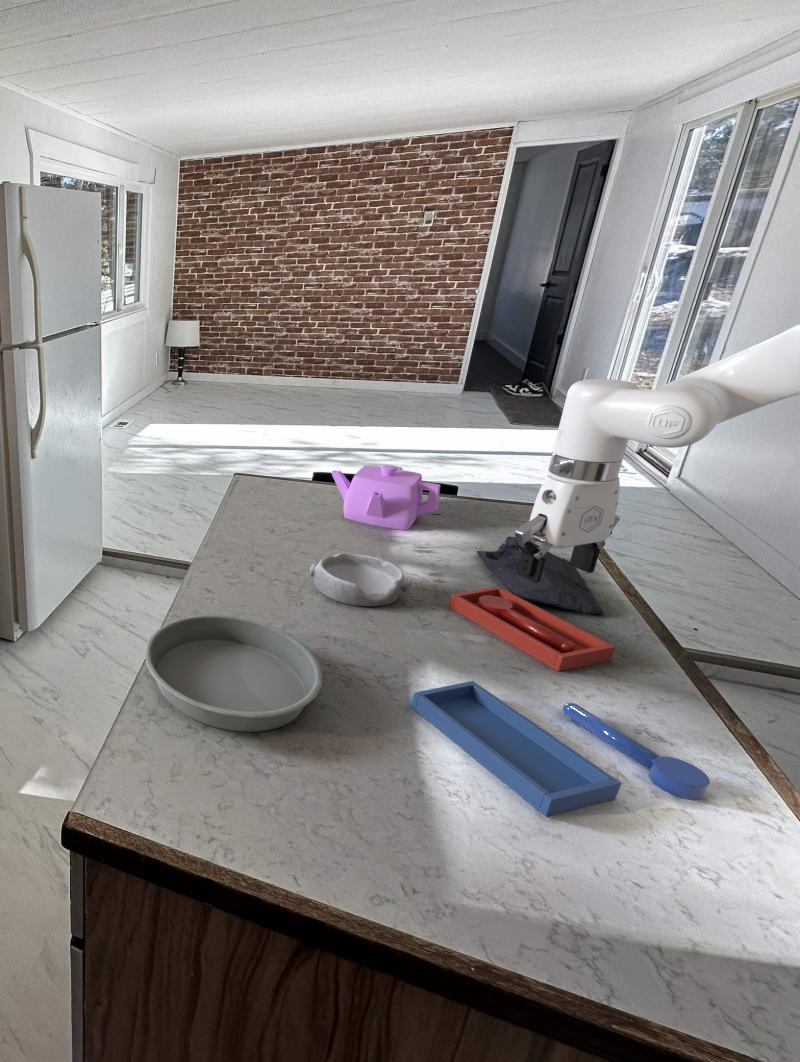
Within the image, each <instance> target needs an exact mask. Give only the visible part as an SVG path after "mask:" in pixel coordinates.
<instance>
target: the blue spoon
mask: <svg viewBox="0 0 800 1062" xmlns="http://www.w3.org/2000/svg"><path fill="white" fill-rule="evenodd" d="M561 709H562V712H563V714H564V715H565V716H566V717H568V718H569V719H571V721H574V722H575V723H577V724H578V725H580V726H582V727H583V728H585V729H586V730H588V731H589V732H591V733H592V734H594V735H595V736H597V737H598V738H600V739H601V740H603V741H605V742H606V743H608V744H609V745H610V746H613V747H614V748H615V749H617V750H619V751H620V752H622V753H623V754H625V755H627V756H628V757H630V758H631V759H633V760H634V761H635V762H637V763H639V764H640V765H642V766H643V767H645V768H647V770H648V772H647V776H648V779H649V780H650V781H651V782H652V783H653V784H654V785H655V786H657V788H659V789H661V790H662V791H664V792H666V793H668V794H670V795H672V796H675V797H677V798H681V799H686V800H691V801H692V800H693V801H695V800H700V799H702V798H704V796H705V794H706V791H707V790H708V788H709V786H710V784H711V780H710V777H709V776H708V775H707V774H706V773H705V771H703V770H702V769H700V768H699V767H698V766H695V765H694V764H692V763H690V762H688V761H685V760H682V759H679V758H676V757H673V756H664V755H663V756H661V755H660V754H658V753H656V752H655V751H653V750H651V749H650V748H648V747H647V746H644V745H643V744H642V743H640V742H638V741H637V740H636V739H633V738H632V737H630V736H629V735H627V734H626V733H624V732H623V731H621V730H619V729H618V728H616V727H615V726H614V725H613V726H612V725H611V724H609V723H608V722H606V721H605V720H603V719H601V717H598V716H597V715H595V714H593V713H592V712H590V711H588V710H587V709H586V708H584V707H582V706H581V705H579V704H577V703H574V702H566V703H565V704H563V705H562V708H561Z"/></svg>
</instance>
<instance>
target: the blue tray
mask: <svg viewBox="0 0 800 1062" xmlns="http://www.w3.org/2000/svg"><path fill="white" fill-rule="evenodd" d="M410 708H411V709H412V710H414V711H415V712H416V713H417V714H419V715H420V716H421V717H422V718H423V719H424V720H426V721H427V722H428V723H430V725H432V726H433V727H435V729H437V730H438V731H440V732H441V734H443V735H444V736H446V737H447V738H448V739H449V740H451V741H452V742H453V743H454V744H455V745H457V746H458V747H459V748H460V749H461V750H462V751H464V752H465V753H467V754H468V756H470V757H471V758H473V759H474V760H475V761H477V763H479V765H481V766H483V768H485V769H486V770H487V771H489V773H491V774H492V775H494V776H495V777H496V778H497V779H499V781H501V782H502V783H504V784H505V785H506V786H507V787H508V788H510V789H511V790H512V791H514V793H516V794H517V795H518V796H519V797H521V798H522V799H524V801H525V802H527V803H528V804H530V805H531V806H532V807H533V808H534V809H535V810H537V811H538V812H539V813H540V814H541V815H543V816H544V817H550V816H555V815H558V814H562V813H566V812H571V811H574V810H575V811H576V810H578V809H582V808H586V807H590V806H594V805H599V804H602V803H607V802H610V801H614V800H616V798H617V796H618V793H619V791H620V788H621V786H622V782H621V781H620V780H618V779H617V778H615V777H614V776H612V775H611V774H610V773H608V772H606V771H605V770H604V769H602V768H601V767H599V766H598V765H596V764H595V763H594V762H592V761H590V760H589V759H588V758H586V757H585V756H583V755H582V754H580V753H579V752H577V751H576V750H574V749H573V748H571V747H570V746H569V745H567V744H566V743H565V742H563V741H561V740H560V739H559V738H557V737H556V736H554V734H551V733H550V732H549V731H547V730H546V729H544V728H543V727H542V726H540V725H538V724H536V723H535V722H534V721H532V720H531V719H529V718H528V717H526V715H524V714H522V713H521V712H519V711H518V710H516V709H515V708H514V707H512V706H511V705H509V704H507V703H506V702H504V700H501V699H500V698H499V697H497V696H496V695H494V693H491V692H490V691H489V690H487V689H485V688H484V687H483V686H481V685H480V684H478V683H477V682H475V681H474V680H470V681H466V682H460V683H454V684H451V685H445V686H440V687H435V688H430V689H425V690H421V691H415V692H413V695H412V699H411V704H410Z"/></svg>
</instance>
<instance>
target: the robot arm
mask: <svg viewBox="0 0 800 1062" xmlns="http://www.w3.org/2000/svg"><path fill="white" fill-rule="evenodd" d="M798 395H800V323H798V324H795V325H794V326H792V327H790V328H788V329H786V330H784V331H782V332H781V333H779V334H777V335H775V336H772V337H770V338H768V339H766V340H764V341H761V342H759V343H757V344H754V345H752V346H749V347H747V348H745V349H743V350H741V351H739V352H735V353H733V354H732V355H729V356H727V357H725V358H721V359H720V360H717V361H715V362H713V363H711V364H707V366H704V367H701V368H699V369H697V370H695V371H692V372H689V373H687V374H685V375H683V376H680V377H679V378H676V379H674V380H672V381H669V382H667V383H666V384H664V385H662V386H661V387H659V388H657V389H656V388H655V389H641V387H640V386H639V385H637V384H636V383H634V382H631V381H627V380H622V379H621V380H620V379H611V378H587V379H582V380H578V381H575V382H574V383H573V384H571V386H570V387H569V388H568V390H567V393H566V397H565V401H564V405H563V409H562V413H561V417H560V421H559V425H558V429H557V433H556V437H555V441H554V445H553V447H552V448H553V449H552V453H551V457H550V461H549V465H548V469H547V473H546V474H547V475H546V476H545V478H544V479H543V481H542V483H541V486H540V488H539V490H538V493H537V495H536V498H535V501H534V504H533V507H532V510H531V513H530V517H529V521H528V522H525V524H523V525H521V526H520V527H518V528H516V529H515V531H514V537H515V538H516V540H517V542H516V545H517V546H518V547H519V551H520V552H522V553H521V558H520V562H519V566H518V570H517V574H518V575H519V576H521V577H523V578H526V579H528V580H530V581H532V582H534V583H537V582H540V580H541V576H542V572H543V568H544V564H545V560H546V559H545V558H542V557H543V556H544V555H545V554H546V552H547V551H548V552H549V551H550V549H552V547H554V548H558V549H565V548H571V547H573V549H572V553H571V556H570V560H569V562H570V565H571V566H573V567H575V568H576V569H577V570H578V569H579V570H580V571H583V572H585V573H588V574H591V573H594V572H595V569H596V566H597V563H598V559H599V556H600V552H601V549H603V548H604V547H605V546H606V540H607V539H608V538H609V537H610V536H611V535H612V534H613V530H614V528H615V527H616V526H617V525H618V522H619V521H620V518H621V517H620V516H619V515H617V509H618V504H619V499H620V498H619V497H620V486H621V485H620V483H621V481H620V477H619V474H620V470H621V467H622V464H623V461H624V456H625V453H626V450H627V446H628V443H629V441H633V442H636V443H640V444H644V445H649V446H652V447H658V448H666V449H672V448H673V449H676V448H683V447H688V446H691V445H694V444H696V443H698V442H700V441H701V440H703V439H705V438H706V437H707V436H708V435H709V434H710V433H711V432H712V430H714V429H715V427H717V425H719V424H721V423H724V422H726V421H728V420H732V419H734V418H737V417H739V416H742V415H745V414H747V413H749V412H753V411H755V410H758V409H760V408H762V407H766V406H768V405H772V404H774V403H776V402H780V401H782V400H785V399H788V398H791V397H794V396H798ZM537 542H539V543H541V544H540V545H539V546H540V547H539V548H538V549H537V547H536V546H535V545H534V544H536V543H537Z"/></svg>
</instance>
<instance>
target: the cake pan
mask: <svg viewBox="0 0 800 1062" xmlns="http://www.w3.org/2000/svg"><path fill="white" fill-rule="evenodd" d="M148 654H149V655H148ZM145 659H146V661H145V664H146V666H147V669H148V671H149V673H150V674H151V675H152V677H153V678H154V679H155V682H156V685H157V687H158V689H159V692H160V694H161V695H162V696H163V697H164V698H165V700H166V701H167V702H168V703H169V704H170V705H171V706H172V707H173V708H175V709H176V710H178V711H179V712H180V713H182V714H184V715H185V716H187V717H188V718H190V719H193V720H194V721H197V722H198V723H202V724H204V725H207V726H209V727H213V728H218V729H221V730H227V731H232V732H246V733H253V732H255V733H256V732H264V731H269V730H274V729H278V728H280V727H283V726H285V725H287V724H290V723H291V722H292V721H294V720H295V719H297V717H298V716H299V715H300V714H301V713H302V712H303V710H304V709H305V706H307V705H308V704H310V703H311V702H312V701H313V700H314V699H316V697H317V696H318V695H319V692H320V690H321V688H322V685H323V673H322V668H321V666H320V664H319V662H318V660H317V658H316V657H315V656H314V654H313V652H312V651H310V650H309V648H307V647H306V645H304V644H303V643H302V642H300V641H299V640H298V639H296V638H295V637H293V636H292V635H290V634H288V633H287V632H285V631H283V630H281V629H279V628H276V627H274V626H272V625H271V624H270V625H269V624H266V623H264V622H261V621H258V620H254V619H250V618H246V617H242V616H235V615H226V614H199V615H198V614H197V615H191V616H185V617H181V618H177V619H174V620H172V621H170V622H168V623H165V624H164V625H162V626H160V627H159V628H158V629H156V630H155V631H154V632H153V633H152V635H150V637H149V638H148V639H147V642H146V644H145V647H144V660H145Z"/></svg>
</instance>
